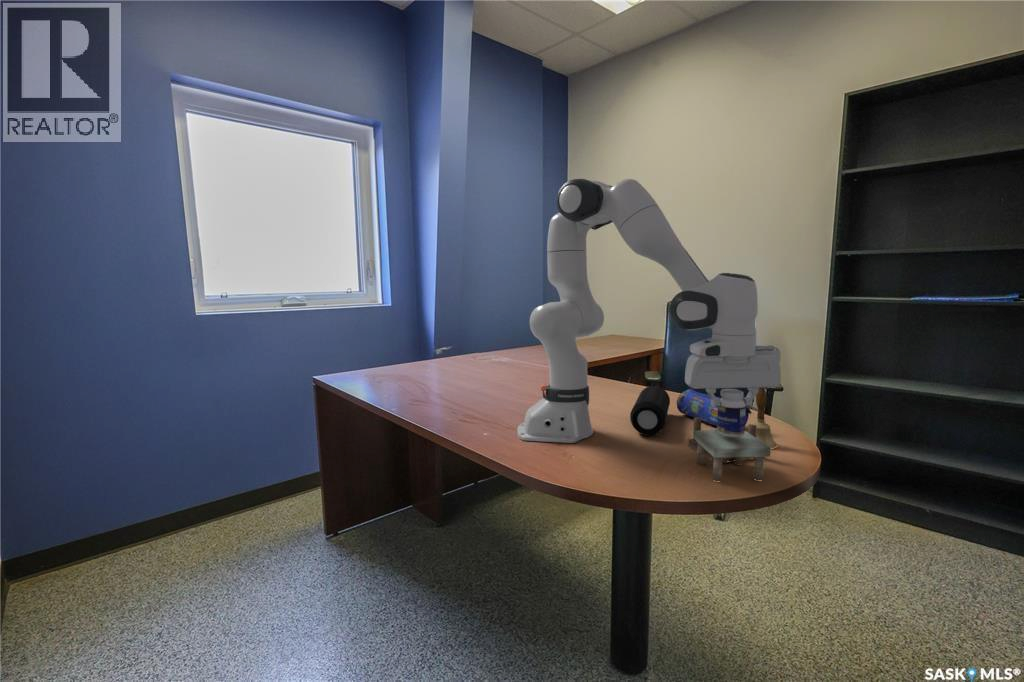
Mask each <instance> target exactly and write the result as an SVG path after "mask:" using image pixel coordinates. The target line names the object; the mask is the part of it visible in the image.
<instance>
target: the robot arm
mask: <svg viewBox="0 0 1024 682" xmlns="http://www.w3.org/2000/svg"><path fill="white" fill-rule="evenodd" d="M556 205H557V210H558V213H555V214H554V215H553V216H552V217H551V219H550V221H549V225H548V226H549V227H548V233H547V243H546V244H547V245H546V248H547V249H546V252H547V256H546V257H547V258H546V259H547V279H548V281H549V283H550V284H551V286H553V287H554V288H555V289H556V291H557V293H558V296H559V299H560V301H551V302H547V303H545V304H542V305H541V304H540V305H539V306H537V307H535V308H534V309H533V310H532V311H531V314H530V316H529V328H530V331H531V333H532V334H533V336H534V337H535V338H536V339H538V340H539V342H540V343H541V344H542V345H543V348H544V350H545V352H546V356H547V361H548V373H549V377H548V378H549V384H548V385H546V384H542V385H541V386H540V390H541V391H542V398H541V399H539V400H538V401H537V402H536V403H535V404H533V405H532V406H530V407H529V408H527V409H528V410H526V413H525V417H524V422H522V423H520V424H519V425H518V426H517V431H516V433H517V437H518V438H519V439H520V440H522V441H531V442H545V443H546V442H549V443H550V442H551V443H565V444H568V443H569V444H574V443H577V442H579V441H580V440H583V439H587V438H589V437H591V436H592V435H593V433H594V430H593V426H592V423H591V417H590V410H589V404H590V386H589V385H588V360H587V358H586V356H585V355H583V354H582V353H580V351H579V348H578V346H577V342H576V339H577V338H584V337H588V336H591V335H593V334H595V333H596V332H598V331H600V329H601V328H602V327H603V325H604V320H605V315H604V311H603V309H602V307H601V305H600V304H598V303H597V302H596V300H595V298H594V296H593V293H592V291H591V287H590V284H589V280H588V265H587V261H588V260H587V259H588V257H587V236H588V232H590V230H591V229H592V230H594V231H596V230H599V229H600V228H602V227H604V226H606V225H610V224H611V223H613V224H614V226H615V228H616V230H617V231H618V233H619V235H620V237H621V238H622V240H623V241H624V242H625V244H626V245H627V246H628V247H629V248H630V249H631V250H632V251H633V252H634V253H635V254H636V255H639V256H640V257H644V258H646V259H648V260H651V261H654V262H655V263H656V264H659V265H661V266H662V267H663V268H664V269H665V270H667V272H668V273H669V274H670V276H671V277H672V278H673V280H674V281H675V283H676V284H677V286H678V287H679V288H680V290H681V291H680V292H678V293H677V294H675V295H674V297H672V299H671V301H670V303H669V304H670V305H669V308H668V309H669V312H668V313H669V317H670V319H671V321H672V323H674V325H676V326H677V327H678V328H680V329H683V330H687V331H696V330H702V329H706V328H707V329H711V331H712V333H711V334H712V335H711V337H708V338H705V339H702V340H700V341H697V342H694V343H692V344H690V345H689V351H690V353H691V354H690V355H689V356H688V357H687V360H686V365H685V371H684V372H685V373H684V383H685V384H686V385H687V387H689V388H690V389H692V390H694V389H695V390H696V389H697V390H700V389H703V390H704V389H705V391H706V393H707V395H709V397H710V398H711V406H712V407H720V401H721V400H720V399H718V398H716V397H717V396H715V394H716V393H717V389H741V388H743V389H744V388H746V390H747V391H748V392H747V394H746V396H745V397H743V398H742V401H744V402H745V404H746V407H748V408H750V407H753V401H754V399H755V398H756V395H757V393H758V388H759V387H764V388H777V387H779V385H780V384H781V381H782V370H781V364H780V362H781V351H780V349H779V348H777V347H775V345H772V344H770V345H769V344H768V345H757V328H756V318H757V315H758V307H759V306H758V304H759V303H758V289H757V284H756V282H755V281H756V280H754V278H752V277H751V276H749V275H746V274H740V273H731V272H721V273H718V274H717V275H716V276H715V277H714V278H712V279H710V280H709V279H708V278H707V277H706V276H705V275H704V273H703V272H702V270H701V269H700V267H699V265H697V263H696V262H695V261H694V259H693V258H692V256H691V255H690V254H689V252H688V251H687V250H686V249H685V247H684V246H683V245H682V242H681V240H680V239H679V237H678V236H677V235H676V233H675V231H674V229H673V228H672V225H670V223H669V221H668V219H667V217H666V216H665V214H664V212H663V211H662V209H661V208H660V205H658V203H657V202H656V200H655V199H654V198H653V196H652V195H651V194H650V192H648V190H647V189H646V188H645V187H644V186H643V185H642V184H641V183H640V182H639V181H638V180H636V179H634V178H626V179H625V178H624V179H622V180H620V181H618V182H616V183H615V184H614V185H611V184H606V183H605V182H600V181H598V180H588V179H585V178H574V179H570V180H568V181H566V182H565V183H563V185H562V186H561V187H560V188H559V190H558V193H557V196H556Z"/></svg>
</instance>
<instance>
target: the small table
mask: <svg viewBox="0 0 1024 682" xmlns="http://www.w3.org/2000/svg"><path fill="white" fill-rule="evenodd" d="M693 431H694V432H693V435H692V439H693V438H694V439H695V440H696V441H697V442H698V452H697V455H696V457H697V459H696V460H697V462H696V465H698V464H699V465H698V466H701V465H704V466H706V450H707V451H708V452H709V453H710V454H711V455H712V456H713V457H714V458H713V460H712V462H713V463H712V481H713V480H715V481H721V480H722V479H723V478H722V477H723V463H722V458H723V457H735V461H734V464H735V463H736V464H735V465H737V464H743V465H744V460H743V457H755V459H754V463H753V480H754V479H756V480H763V481H764V467H765V466H764V463H765V457H767V458H770V457H771V450H770V449H771V448H770V447H769V446H767V445H766V444H764V443H763V442H761V441H760V440H758V439H757V438H755V437H754V436H752V435H751V434H749V433H748V431H746V430H745V433H744V435H743V436H740V437H729V436H724V435H721V434H719V433H718V431H717V429H701V430H694V429H693ZM722 481H723V480H722Z"/></svg>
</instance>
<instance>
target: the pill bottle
mask: <svg viewBox="0 0 1024 682" xmlns="http://www.w3.org/2000/svg"><path fill="white" fill-rule="evenodd" d="M744 393H745V392H744V391H742V390H740V389H737V388H721V390H720V395H719V396H721V397H720V398H722V399H720V400H721V401H720V407H718V415H717V426H716V430H717V431H718V433H719V434H721V435H724V436H729V437H740V436H743V435H744V433H745V431H746V430H745V429H746V425H745V412H746V404H745V402H744V401H742V398H744V396H745V395H744Z"/></svg>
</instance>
